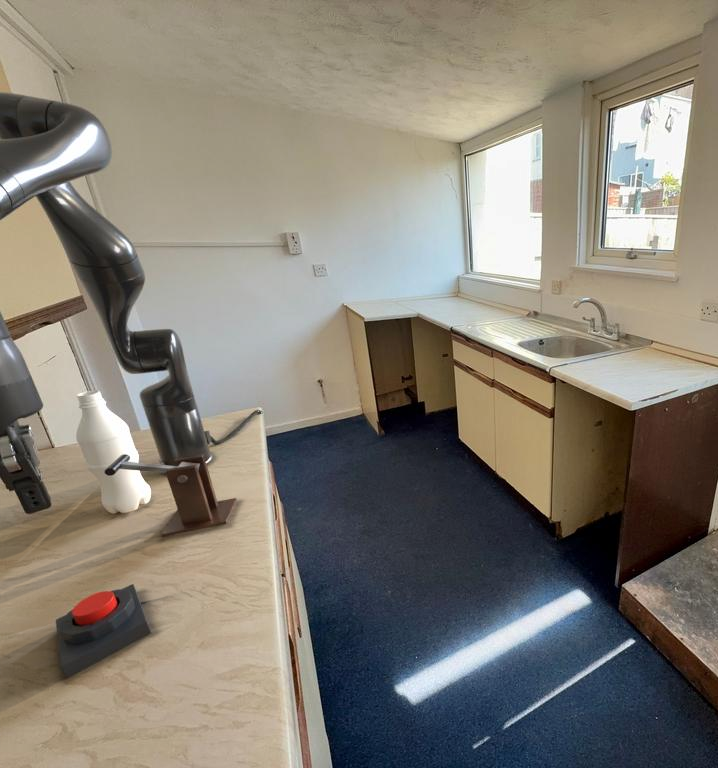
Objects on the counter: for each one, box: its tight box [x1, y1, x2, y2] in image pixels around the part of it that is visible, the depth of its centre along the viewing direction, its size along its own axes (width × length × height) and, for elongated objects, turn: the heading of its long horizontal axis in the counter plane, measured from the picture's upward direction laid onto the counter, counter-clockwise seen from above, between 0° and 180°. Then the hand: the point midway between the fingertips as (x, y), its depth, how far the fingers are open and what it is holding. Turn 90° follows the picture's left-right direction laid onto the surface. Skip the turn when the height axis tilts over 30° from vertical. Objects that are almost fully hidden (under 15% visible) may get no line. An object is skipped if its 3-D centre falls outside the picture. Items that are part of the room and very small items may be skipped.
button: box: [71, 590, 117, 626], centre depth 53 cm, size 4×4×2 cm
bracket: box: [160, 455, 238, 538], centre depth 75 cm, size 10×8×13 cm
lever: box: [105, 454, 200, 476], centre depth 72 cm, size 12×5×2 cm, turn 111°
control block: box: [55, 583, 152, 679], centre depth 54 cm, size 10×8×4 cm
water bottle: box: [75, 390, 152, 515], centre depth 77 cm, size 7×7×25 cm
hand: (39, 507), depth 51 cm, fingers closed
